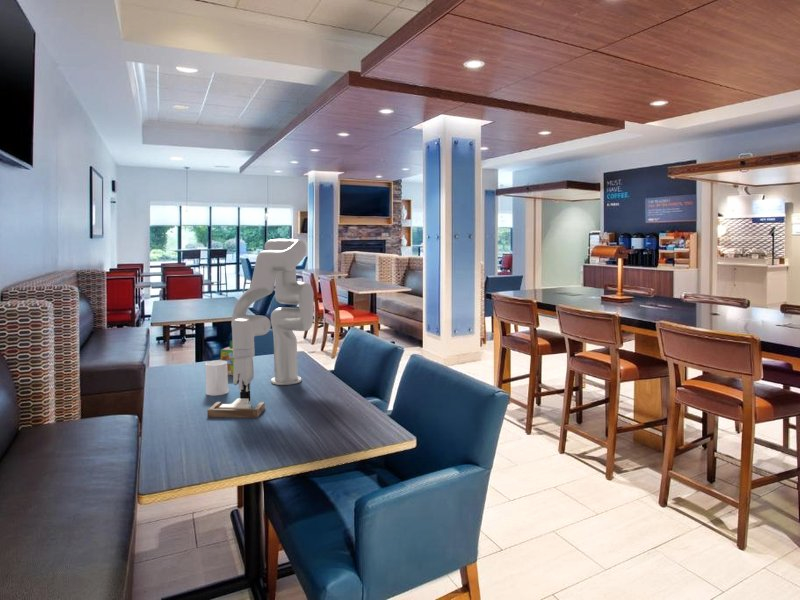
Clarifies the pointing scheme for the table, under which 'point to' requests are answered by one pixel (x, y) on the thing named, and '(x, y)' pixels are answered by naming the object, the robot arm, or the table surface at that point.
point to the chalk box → (228, 358)
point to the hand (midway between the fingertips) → (245, 401)
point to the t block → (237, 404)
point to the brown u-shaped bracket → (235, 411)
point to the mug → (216, 378)
